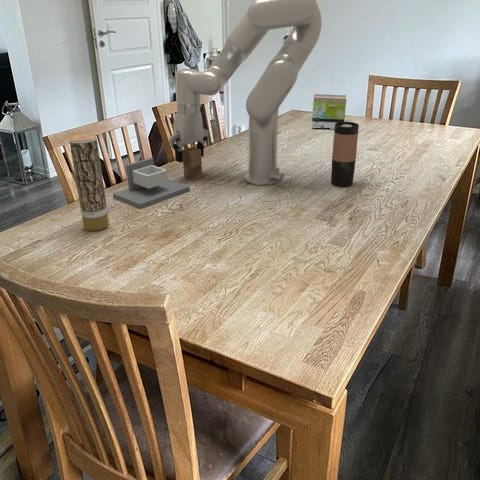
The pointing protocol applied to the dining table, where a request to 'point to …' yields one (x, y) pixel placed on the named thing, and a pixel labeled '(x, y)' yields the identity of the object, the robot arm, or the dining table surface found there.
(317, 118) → the tea box
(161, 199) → the bracket stand
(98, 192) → the brown bark cylinder
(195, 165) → the rail post
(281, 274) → the dining table surface
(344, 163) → the travel mug
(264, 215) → the dining table surface
